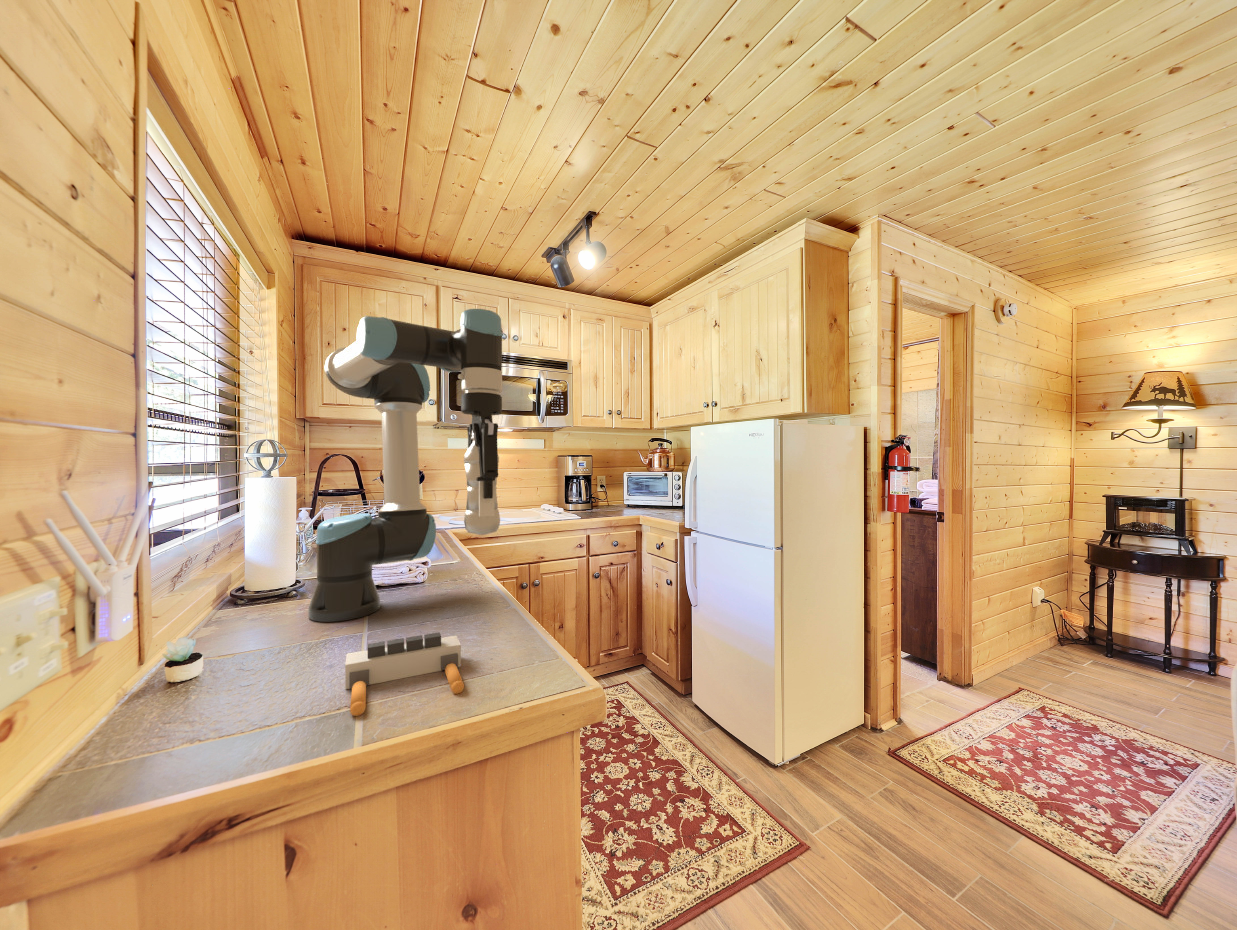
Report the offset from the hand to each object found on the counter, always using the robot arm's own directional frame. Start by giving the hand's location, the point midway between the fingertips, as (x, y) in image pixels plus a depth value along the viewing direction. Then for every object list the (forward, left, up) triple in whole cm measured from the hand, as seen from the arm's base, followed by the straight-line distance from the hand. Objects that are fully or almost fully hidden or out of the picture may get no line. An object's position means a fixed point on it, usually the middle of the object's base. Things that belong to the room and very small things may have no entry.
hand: (482, 513), depth 91 cm
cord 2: (+10, -7, -27) cm, 30 cm away
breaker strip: (+2, -14, -27) cm, 30 cm away
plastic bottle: (0, 0, -4) cm, 4 cm away
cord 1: (+10, -21, -27) cm, 36 cm away
